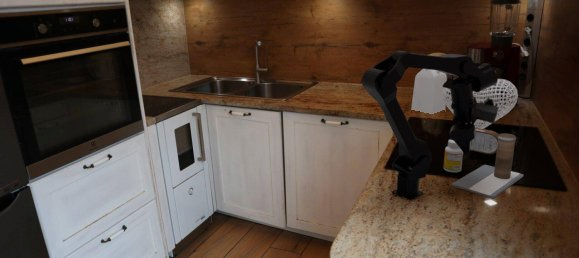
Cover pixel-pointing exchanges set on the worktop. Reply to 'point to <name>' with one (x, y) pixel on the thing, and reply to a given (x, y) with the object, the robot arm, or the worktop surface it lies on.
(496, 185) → the slate-grey panel
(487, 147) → the tin
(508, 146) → the beige tapered cylinder
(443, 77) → the milk
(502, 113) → the heart
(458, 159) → the supplement bottle
